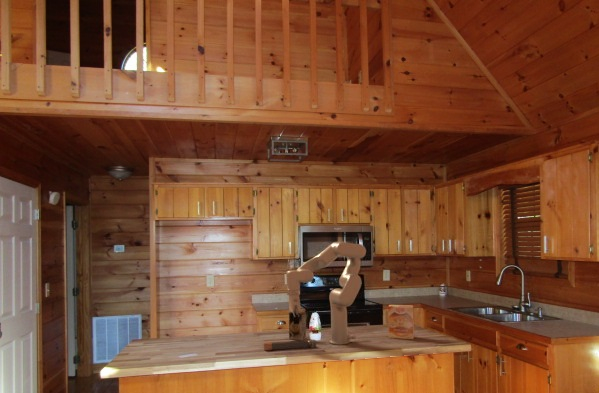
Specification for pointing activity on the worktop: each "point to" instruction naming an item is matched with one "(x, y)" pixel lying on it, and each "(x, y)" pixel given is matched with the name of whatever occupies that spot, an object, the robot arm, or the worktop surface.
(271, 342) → the arm
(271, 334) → the worktop surface
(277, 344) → the tongs moving arm
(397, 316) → the coffeecake box
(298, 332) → the coffee box
